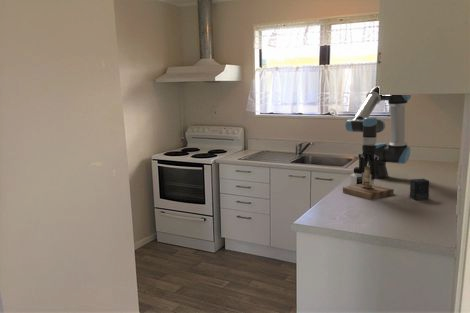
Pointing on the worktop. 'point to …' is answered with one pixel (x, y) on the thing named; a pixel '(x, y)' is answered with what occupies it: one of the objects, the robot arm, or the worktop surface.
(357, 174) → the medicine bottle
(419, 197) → the box
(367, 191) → the board
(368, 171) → the peg
